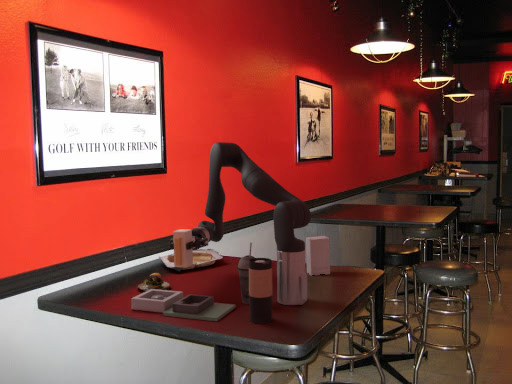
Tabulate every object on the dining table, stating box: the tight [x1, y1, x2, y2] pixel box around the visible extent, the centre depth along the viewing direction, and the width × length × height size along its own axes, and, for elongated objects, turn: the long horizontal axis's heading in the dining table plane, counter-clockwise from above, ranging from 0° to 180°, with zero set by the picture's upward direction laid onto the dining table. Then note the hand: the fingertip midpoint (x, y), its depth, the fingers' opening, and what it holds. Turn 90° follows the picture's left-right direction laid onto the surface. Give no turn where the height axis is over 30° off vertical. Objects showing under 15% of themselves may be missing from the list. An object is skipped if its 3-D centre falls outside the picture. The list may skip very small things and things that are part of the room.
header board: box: [162, 293, 236, 322], centre depth 167 cm, size 18×14×4 cm
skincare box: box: [305, 235, 331, 277], centre depth 213 cm, size 8×6×15 cm
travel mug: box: [248, 257, 273, 325], centre depth 157 cm, size 7×7×18 cm
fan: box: [130, 289, 184, 314], centre depth 176 cm, size 16×18×4 cm
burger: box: [136, 268, 172, 292], centre depth 194 cm, size 12×12×8 cm
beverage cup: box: [237, 242, 256, 305], centre depth 175 cm, size 7×7×20 cm
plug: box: [172, 228, 193, 268], centre depth 180 cm, size 4×6×12 cm
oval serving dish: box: [158, 248, 223, 272], centre depth 234 cm, size 32×4×23 cm
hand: (180, 246), depth 178 cm, fingers closed on plug, 5 cm apart
